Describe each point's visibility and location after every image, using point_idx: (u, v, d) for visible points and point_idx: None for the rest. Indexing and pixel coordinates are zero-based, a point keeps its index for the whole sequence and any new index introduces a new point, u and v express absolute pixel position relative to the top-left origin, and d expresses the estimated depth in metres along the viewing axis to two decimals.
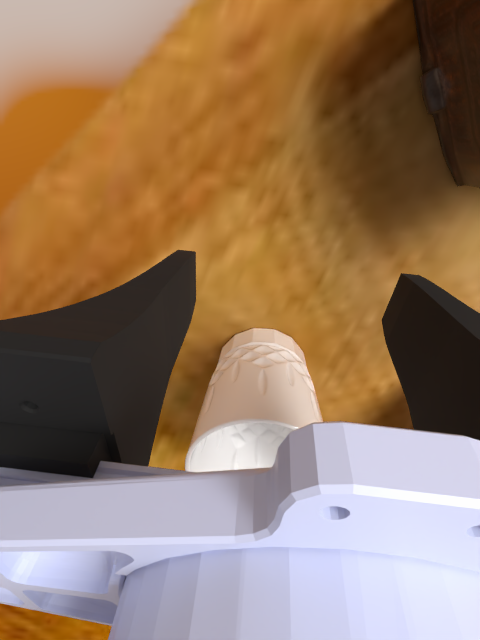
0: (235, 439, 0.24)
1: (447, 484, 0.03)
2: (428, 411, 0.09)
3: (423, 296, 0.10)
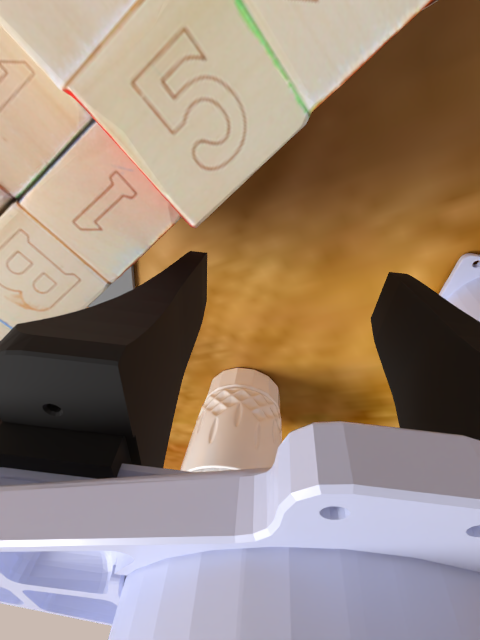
0: None
1: (447, 484, 0.03)
2: (413, 409, 0.09)
3: (409, 294, 0.10)
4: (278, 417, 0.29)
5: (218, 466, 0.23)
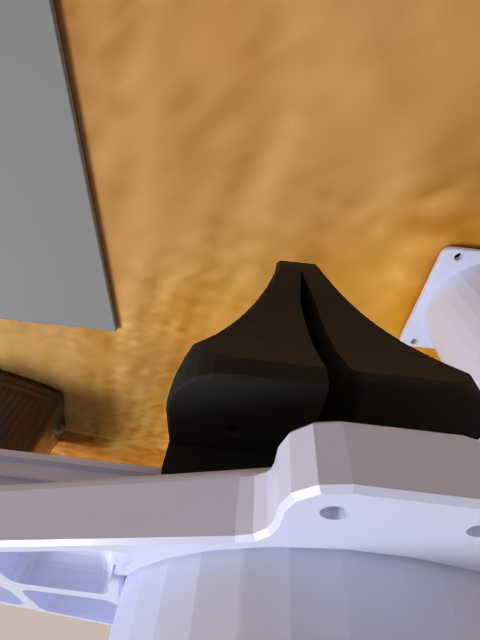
0: None
1: (447, 484, 0.03)
2: None
3: (304, 283, 0.10)
4: None
5: None
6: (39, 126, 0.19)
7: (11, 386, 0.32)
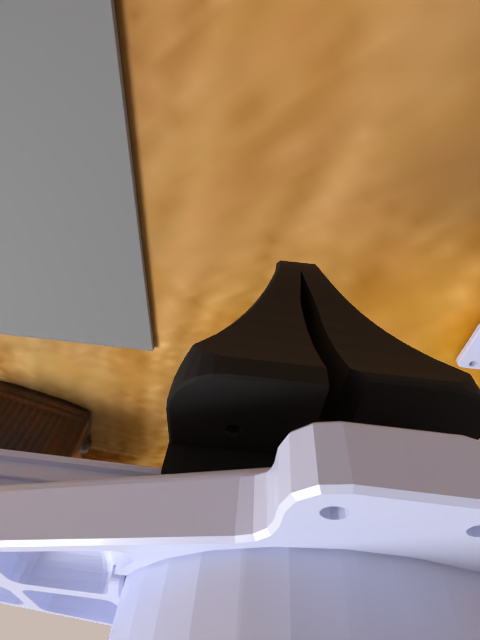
0: None
1: (447, 484, 0.03)
2: None
3: (304, 283, 0.10)
4: None
5: None
6: (89, 139, 0.17)
7: (38, 406, 0.30)
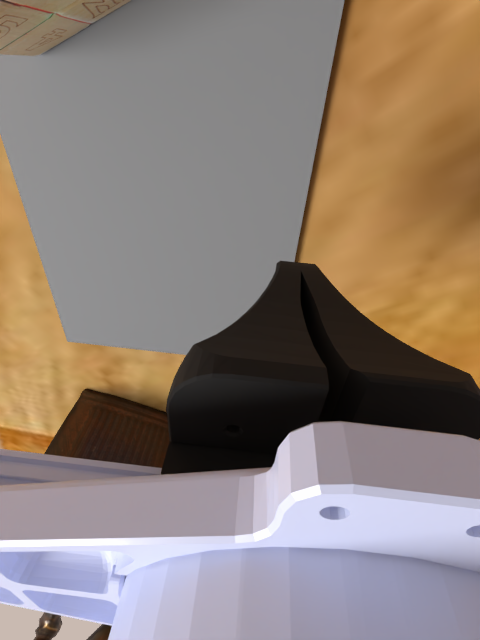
0: None
1: (447, 484, 0.03)
2: None
3: (304, 283, 0.10)
4: None
5: None
6: (274, 157, 0.17)
7: (142, 418, 0.30)
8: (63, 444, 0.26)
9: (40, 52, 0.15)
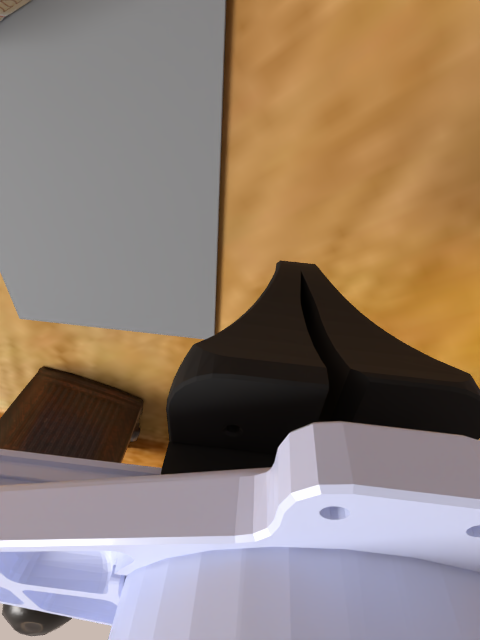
0: None
1: (447, 484, 0.03)
2: None
3: (304, 283, 0.10)
4: None
5: None
6: (184, 139, 0.19)
7: (96, 394, 0.32)
8: (16, 415, 0.28)
9: None
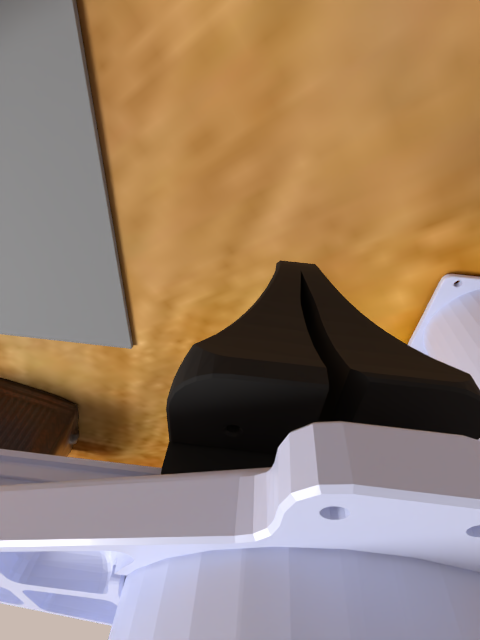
0: None
1: (447, 484, 0.03)
2: None
3: (304, 283, 0.10)
4: None
5: None
6: (67, 165, 0.20)
7: (29, 399, 0.33)
8: None
9: None
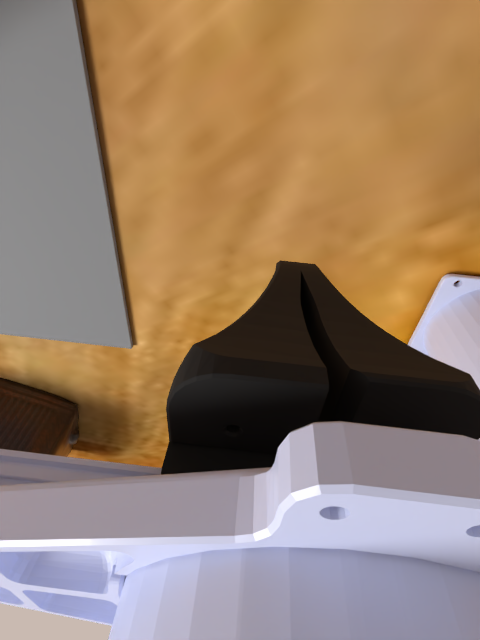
0: None
1: (447, 484, 0.03)
2: None
3: (304, 283, 0.10)
4: None
5: None
6: (67, 165, 0.20)
7: (29, 399, 0.33)
8: None
9: None
